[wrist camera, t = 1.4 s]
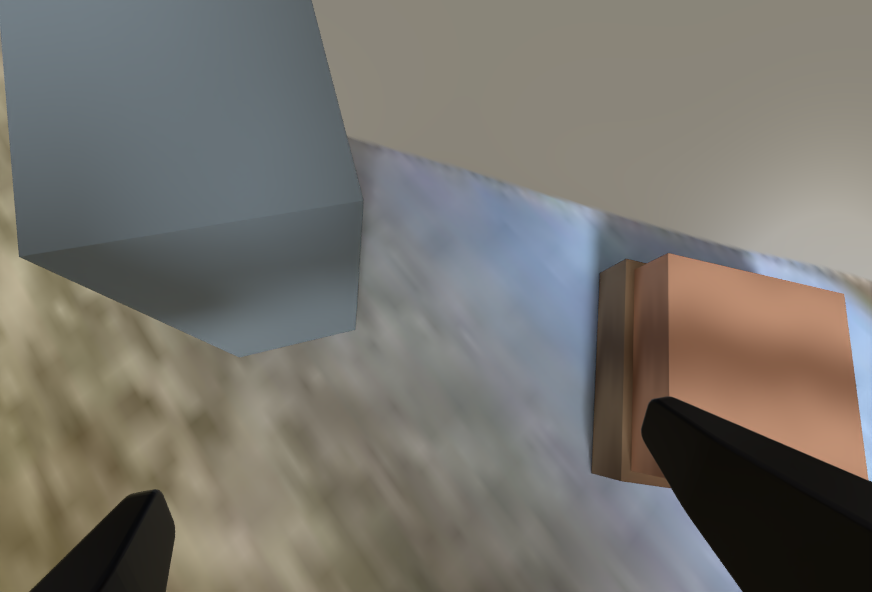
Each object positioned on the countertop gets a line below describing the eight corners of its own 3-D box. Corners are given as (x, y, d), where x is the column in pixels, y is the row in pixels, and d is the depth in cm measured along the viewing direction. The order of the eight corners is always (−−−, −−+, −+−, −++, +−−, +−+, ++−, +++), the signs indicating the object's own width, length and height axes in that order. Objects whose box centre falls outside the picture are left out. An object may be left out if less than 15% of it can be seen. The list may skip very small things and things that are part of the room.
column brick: (355, 329, 21) (363, 200, 8) (239, 357, 20) (19, 256, 7) (331, 229, 22) (303, -30, 9) (219, 249, 21) (-4, -22, 8)
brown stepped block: (774, 499, 23) (882, 522, 19) (591, 473, 22) (658, 491, 17) (761, 308, 26) (850, 286, 22) (599, 273, 25) (658, 241, 20)
